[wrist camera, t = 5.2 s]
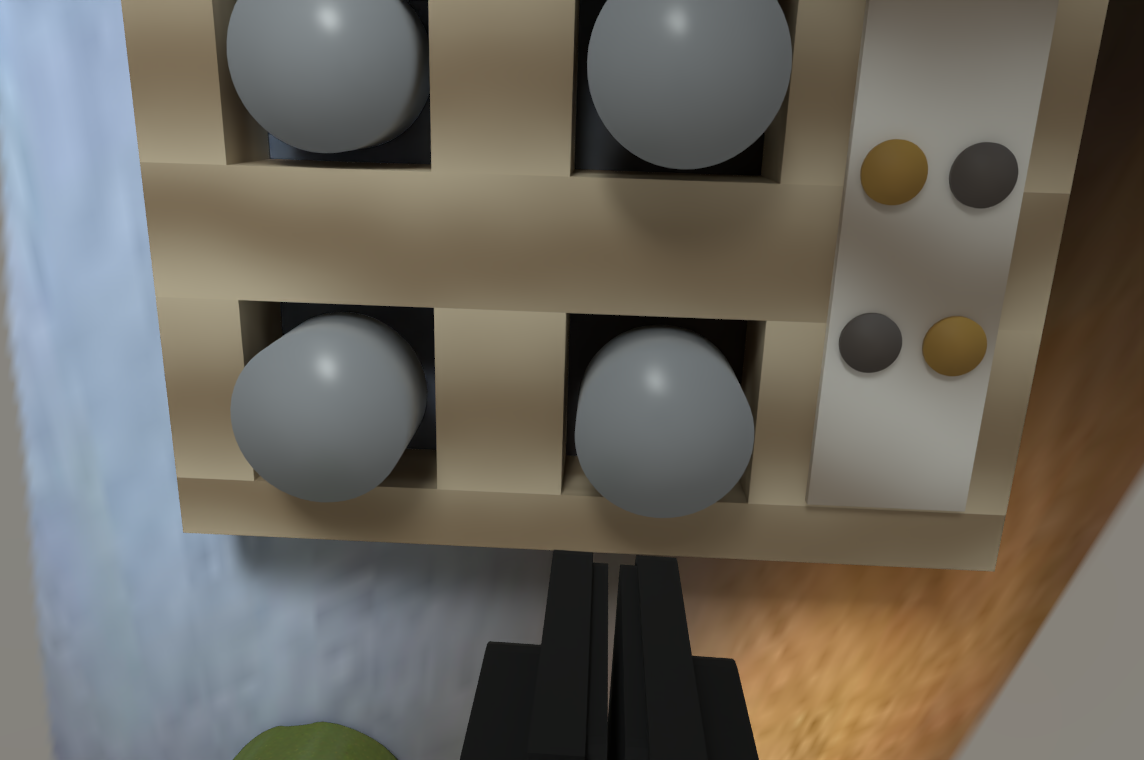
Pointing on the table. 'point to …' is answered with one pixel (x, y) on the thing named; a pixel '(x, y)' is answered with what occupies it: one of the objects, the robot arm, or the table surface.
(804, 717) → the table surface
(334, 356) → the button
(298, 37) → the button
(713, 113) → the button
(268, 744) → the plant pot
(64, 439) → the table surface
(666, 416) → the button
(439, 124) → the board
